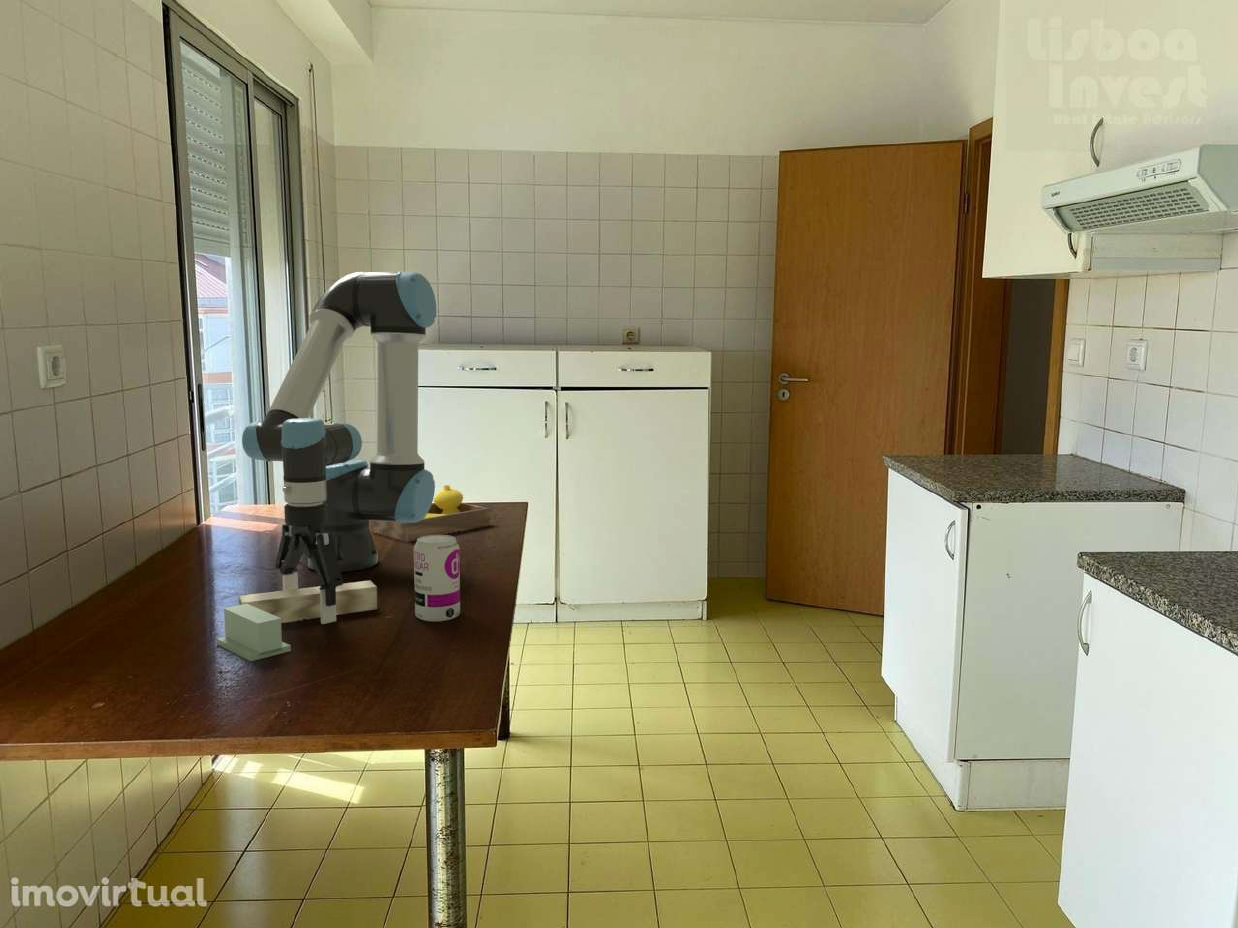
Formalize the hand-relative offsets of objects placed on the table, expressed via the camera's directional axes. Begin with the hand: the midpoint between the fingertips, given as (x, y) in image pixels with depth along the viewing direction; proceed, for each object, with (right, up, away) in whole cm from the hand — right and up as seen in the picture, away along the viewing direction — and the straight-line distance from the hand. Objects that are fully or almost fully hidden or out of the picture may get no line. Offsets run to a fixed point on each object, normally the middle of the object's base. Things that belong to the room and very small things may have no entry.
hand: (309, 614), depth 180 cm
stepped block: (-4, -3, -18) cm, 19 cm away
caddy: (+9, +10, +72) cm, 73 cm away
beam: (0, 0, 0) cm, 1 cm away
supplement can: (+24, -1, 0) cm, 24 cm away
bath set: (+9, +10, +76) cm, 77 cm away
